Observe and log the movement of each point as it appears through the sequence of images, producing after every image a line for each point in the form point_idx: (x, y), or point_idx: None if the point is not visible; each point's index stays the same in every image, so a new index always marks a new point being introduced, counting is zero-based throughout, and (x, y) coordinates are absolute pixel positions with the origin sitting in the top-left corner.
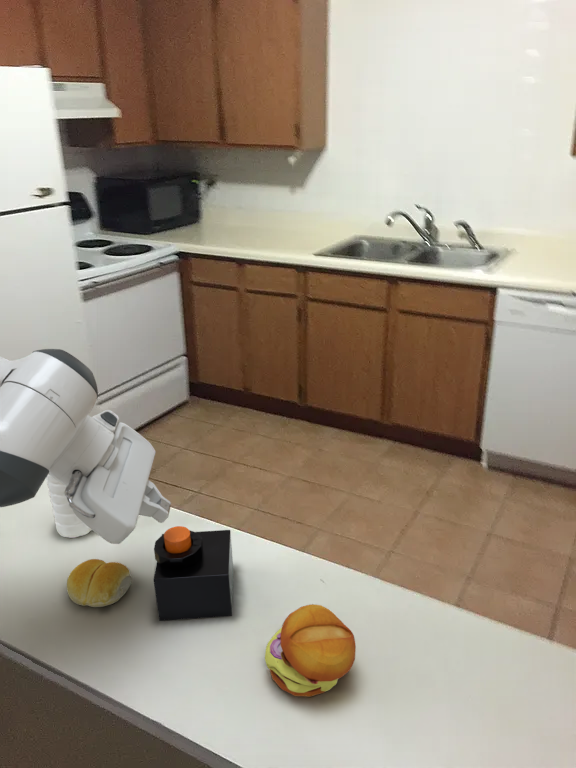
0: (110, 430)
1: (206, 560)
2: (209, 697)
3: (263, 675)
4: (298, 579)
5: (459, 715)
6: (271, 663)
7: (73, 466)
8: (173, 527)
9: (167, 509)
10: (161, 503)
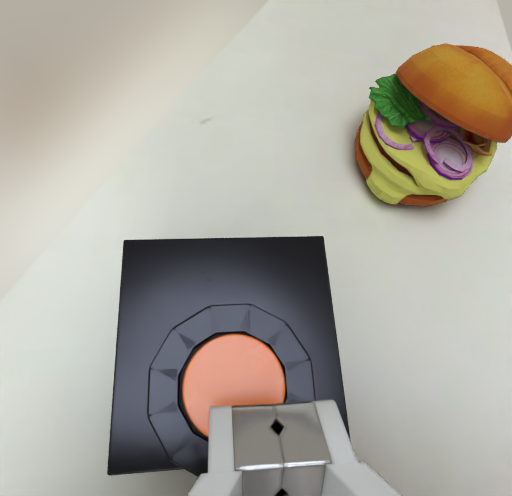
0: None
1: (264, 297)
2: (481, 302)
3: (425, 220)
4: (198, 157)
5: (448, 15)
6: (469, 184)
7: None
8: (189, 408)
9: (298, 412)
10: (292, 458)
